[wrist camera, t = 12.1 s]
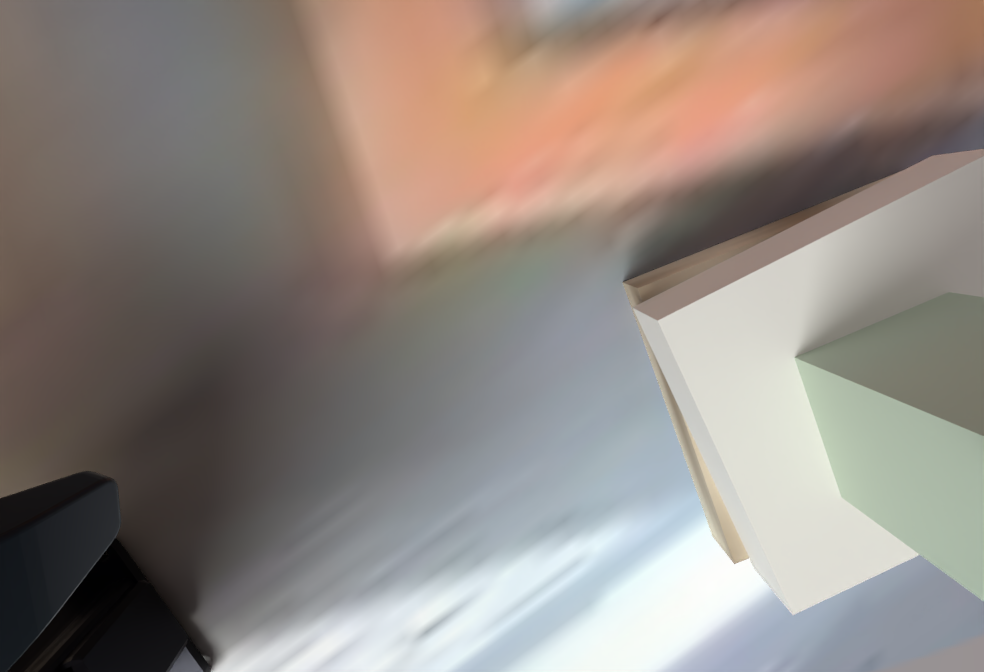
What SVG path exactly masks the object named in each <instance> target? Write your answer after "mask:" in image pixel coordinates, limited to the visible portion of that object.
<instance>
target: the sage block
mask: <svg viewBox="0 0 984 672" xmlns="http://www.w3.org/2000/svg"><path fill="white" fill-rule="evenodd" d="M794 358H795V361H796V364H797V367H798V370H799V373H800V376H801V379H802V382H803V385H804V388H805V391H806V394H807V397H808V400H809V403H810V406H811V409H812V411H813V414H814V417H815V420H816V423H817V426H818V429H819V432H820V435H821V438H822V441H823V444H824V447H825V450H826V453H827V456H828V459H829V462H830V465H831V468H832V471H833V474H834V477H835V480H836V482H837V485H838V488H839V491H840V494H841V497H842V498H843V499H844V500H846V501H847V502H849V503H850V504H851V505H853V506H854V507H855V508H857V509H858V510H859V511H861V512H862V513H864V514H865V515H866V516H868V517H869V518H870V519H872V520H873V521H874V522H876V523H877V524H879V525H880V526H881V527H883V528H884V529H885V530H887V531H888V532H890V533H891V534H892V535H894V536H895V537H896V538H898V539H899V540H900V541H902V542H903V543H905V544H906V545H907V546H909V547H910V548H911V549H913V550H914V551H915V552H917V553H918V554H920V555H921V556H922V557H924V558H925V559H926V560H928V561H929V562H931V563H932V564H933V565H935V566H936V567H937V568H939V569H940V570H941V571H943V572H944V573H946V574H947V575H948V576H950V577H951V578H952V579H954V580H955V581H956V582H958V583H959V584H961V585H962V586H963V587H965V588H966V589H967V590H969V591H970V592H972V593H973V594H974V595H976V596H977V597H978V598H980V599H981V600H982V601H984V297H979V296H972V295H965V294H958V293H952V292H948V293H945V294H943V295H941V296H938V297H936V298H934V299H931V300H929V301H927V302H924V303H922V304H919V305H917V306H915V307H912V308H910V309H908V310H905V311H903V312H901V313H898V314H896V315H893V316H891V317H889V318H886V319H884V320H882V321H879V322H877V323H875V324H872V325H870V326H867V327H865V328H863V329H860V330H858V331H856V332H853V333H851V334H849V335H846V336H844V337H841V338H839V339H837V340H834V341H832V342H830V343H827V344H825V345H823V346H820V347H818V348H815V349H813V350H811V351H808V352H806V353H804V354H801V355H799V356H797V357H794Z"/></svg>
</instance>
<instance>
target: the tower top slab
mask: <svg viewBox="0 0 984 672" xmlns="http://www.w3.org/2000/svg"><path fill="white" fill-rule="evenodd" d="M948 292H952V293H958V294H965V295H972V296H979V297H984V149H979V150H971V151H963V152H956V153H948V154H941V155H933V156H930V157H929V158H927V159H925V160H923V161H921V162H919V163H917V164H915V165H913V166H911V167H909V168H907V169H905V170H903V171H901V172H899V173H897V174H895V175H893V176H891V177H889V178H887V179H885V180H883V181H881V182H879V183H877V184H875V185H873V186H871V187H869V188H867V189H865V190H863V191H861V192H859V193H857V194H855V195H853V196H851V197H850V198H848V199H846V200H844V201H842V202H840V203H838V204H836V205H834V206H832V207H830V208H828V209H826V210H824V211H822V212H820V213H818V214H816V215H814V216H812V217H810V218H808V219H806V220H804V221H802V222H800V223H798V224H796V225H794V226H792V227H790V228H788V229H786V230H784V231H782V232H780V233H778V234H776V235H774V236H772V237H771V238H769V239H767V240H765V241H763V242H761V243H759V244H757V245H755V246H753V247H751V248H749V249H747V250H745V251H743V252H741V253H739V254H737V255H735V256H733V257H731V258H729V259H727V260H725V261H723V262H721V263H719V264H717V265H715V266H713V267H711V268H709V269H707V270H705V271H703V272H701V273H699V274H697V275H695V276H694V277H692V278H690V279H688V280H686V281H684V282H682V283H680V284H678V285H676V286H674V287H672V288H670V289H668V290H666V291H664V292H662V293H660V294H658V295H656V296H654V297H652V298H650V299H648V300H646V301H644V302H642V303H640V304H638V305H636V306H634V307H632V308H633V310H634V312H635V314H636V316H637V319H638V321H639V323H640V325H641V327H642V329H643V331H644V334H645V336H646V338H647V340H648V342H649V344H650V346H651V349H652V351H653V353H654V355H655V357H656V359H657V361H658V364H659V366H660V368H661V370H662V372H663V374H664V376H665V379H666V381H667V383H668V385H669V387H670V389H671V391H672V394H673V396H674V398H675V400H676V402H677V404H678V406H679V409H680V411H681V413H682V415H683V417H684V419H685V421H686V423H687V426H688V428H689V430H690V432H691V434H692V436H693V438H694V441H695V443H696V445H697V447H698V449H699V451H700V453H701V456H702V458H703V460H704V462H705V464H706V466H707V468H708V471H709V473H710V475H711V477H712V479H713V481H714V483H715V486H716V488H717V490H718V492H719V494H720V496H721V498H722V501H723V503H724V505H725V507H726V509H727V511H728V513H729V516H730V518H731V520H732V522H733V524H734V526H735V528H736V531H737V533H738V535H739V537H740V539H741V541H742V543H743V546H744V548H745V550H746V552H747V554H748V556H749V558H750V561H751V563H752V565H753V567H754V569H755V570H756V571H757V573H758V574H759V575H760V576H761V577H762V579H763V580H764V581H765V582H766V583H767V585H768V586H769V587H770V588H771V589H772V591H773V592H774V593H775V594H776V595H777V597H778V598H779V599H780V600H781V601H782V603H783V604H784V605H785V606H786V607H787V609H788V610H789V611H790V612H791V613H792V615H795V614H797V613H799V612H801V611H803V610H805V609H807V608H809V607H811V606H813V605H815V604H818V603H820V602H822V601H824V600H826V599H828V598H830V597H832V596H834V595H836V594H839V593H841V592H843V591H845V590H847V589H849V588H851V587H853V586H855V585H857V584H859V583H862V582H864V581H866V580H868V579H870V578H872V577H874V576H876V575H878V574H880V573H883V572H885V571H887V570H889V569H891V568H893V567H895V566H897V565H899V564H901V563H903V562H906V561H908V560H910V559H912V558H914V557H916V556H918V555H920V554H918V553H917V552H915V551H914V550H913V549H911V548H910V547H909V546H907V545H906V544H905V543H903V542H902V541H900V540H899V539H898V538H896V537H895V536H894V535H892V534H891V533H890V532H888V531H887V530H885V529H884V528H883V527H881V526H880V525H879V524H877V523H876V522H874V521H873V520H872V519H870V518H869V517H868V516H866V515H865V514H864V513H862V512H861V511H859V510H858V509H857V508H855V507H854V506H853V505H851V504H850V503H849V502H847V501H846V500H844V499H843V498H842V497H841V494H840V491H839V488H838V485H837V482H836V480H835V477H834V474H833V471H832V468H831V465H830V462H829V459H828V456H827V453H826V450H825V447H824V444H823V441H822V438H821V435H820V432H819V429H818V426H817V423H816V420H815V417H814V414H813V411H812V409H811V406H810V403H809V400H808V397H807V394H806V391H805V388H804V385H803V382H802V379H801V376H800V373H799V370H798V367H797V364H796V361H795V358H794V357H797V356H799V355H801V354H804V353H806V352H808V351H811V350H813V349H815V348H818V347H820V346H823V345H825V344H827V343H830V342H832V341H834V340H837V339H839V338H841V337H844V336H846V335H849V334H851V333H853V332H856V331H858V330H860V329H863V328H865V327H867V326H870V325H872V324H875V323H877V322H879V321H882V320H884V319H886V318H889V317H891V316H893V315H896V314H898V313H901V312H903V311H905V310H908V309H910V308H912V307H915V306H917V305H919V304H922V303H924V302H927V301H929V300H931V299H934V298H936V297H938V296H941V295H943V294H945V293H948Z"/></svg>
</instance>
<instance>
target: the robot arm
mask: <svg viewBox="0 0 984 672" xmlns="http://www.w3.org/2000/svg"><path fill="white" fill-rule="evenodd" d="M120 525H121V515H120V505H119V495H118V486H117V483H116V482H115V480H114V479H112V478H110V477H107V476H104V475H101V474H98V473H95V472H91V471H84V472H80V473H76V474H73V475H70V476H67V477H64V478H61V479H58V480H55V481H52V482H49V483H46V484H43V485H40V486H37V487H34V488H30V489H27V490H24V491H21V492H18V493H15V494H12V495H9V496H6V497H3V498H0V672H211V669H210V666H209V664H208V663H207V662H206V660H205V659H204V658H203V656H202V655H201V653H200V652H199V651H198V649H197V648H196V647H195V645H194V644H193V642H192V641H191V640H190V638H189V637H188V635H187V633H186V632H185V631H184V629H183V628H182V627H181V625H180V624H179V622H178V621H177V620H176V618H175V617H174V616H173V614H172V613H171V611H170V610H169V609H168V607H167V606H166V604H165V603H164V602H163V600H162V599H161V598H160V596H159V595H158V593H157V592H156V591H155V589H154V588H153V586H152V585H151V584H150V583H149V582H148V580H147V579H146V577H145V576H144V575H143V573H142V572H141V570H140V569H139V568H138V566H137V565H136V564H135V562H134V561H133V559H132V558H131V557H130V555H129V554H128V552H127V551H126V550H125V548H124V547H123V546H122V544H121V543H120V542H119V541H118V540H117V539H116V538H115V537H116V536H117V534H118V531H119V529H120ZM105 551H108V554H109V556H107V555H104V554H103V553H104V552H105Z"/></svg>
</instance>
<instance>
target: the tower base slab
mask: <svg viewBox="0 0 984 672" xmlns="http://www.w3.org/2000/svg"><path fill="white" fill-rule="evenodd" d="M902 171H903V170H902ZM900 172H901V171H900ZM897 173H899V172H897ZM897 173H895V174H897ZM895 174H892V175H890V176H887V177H885V178H882V179H880V180H877V181H875V182H872V183H870V184H867V185H865V186H862V187H860V188H857V189H855V190H852V191H850V192H847V193H845V194H842V195H840V196H837V197H835V198H832V199H830V200H827V201H825V202H822V203H820V204H817V205H815V206H812V207H810V208H807V209H805V210H802V211H800V212H797V213H795V214H792V215H790V216H787V217H785V218H782V219H780V220H777V221H775V222H772V223H770V224H767V225H765V226H762V227H760V228H757V229H755V230H752V231H750V232H747V233H745V234H742V235H740V236H737V237H735V238H732V239H730V240H727V241H725V242H722V243H720V244H717V245H715V246H712V247H710V248H707V249H705V250H702V251H700V252H697V253H695V254H692V255H690V256H687V257H685V258H682V259H680V260H677V261H675V262H672V263H670V264H667V265H665V266H662V267H660V268H657V269H655V270H652V271H650V272H647V273H645V274H642V275H640V276H637V277H635V278H632V279H630V280H627V281H625V282H623V285H624V288H625V291H626V293H627V296H628V299H629V302H630V305H631V307H634V306H636V305H638V304H640V303H642V302H644V301H646V300H648V299H650V298H652V297H654V296H656V295H658V294H660V293H662V292H664V291H666V290H668V289H670V288H672V287H674V286H676V285H678V284H680V283H682V282H684V281H686V280H688V279H690V278H692V277H694V276H695V275H697V274H699V273H701V272H703V271H705V270H707V269H709V268H711V267H713V266H715V265H717V264H719V263H721V262H723V261H725V260H727V259H729V258H731V257H733V256H735V255H737V254H739V253H741V252H743V251H745V250H747V249H749V248H751V247H753V246H755V245H757V244H759V243H761V242H763V241H765V240H767V239H769V238H771V237H772V236H774V235H776V234H778V233H780V232H782V231H784V230H786V229H788V228H790V227H792V226H794V225H796V224H798V223H800V222H802V221H804V220H806V219H808V218H810V217H812V216H814V215H816V214H818V213H820V212H822V211H824V210H826V209H828V208H830V207H832V206H834V205H836V204H838V203H840V202H842V201H844V200H846V199H848V198H850V197H851V196H853V195H855V194H857V193H859V192H861V191H863V190H865V189H867V188H869V187H871V186H873V185H875V184H877V183H879V182H881V181H883V180H885V179H887V178H889V177H891V176H893V175H895ZM632 310H633V308H632ZM633 313H634V316H635V319H636V322H637V324H638V327H639V330H640V333H641V336H642V338H643V341H644V344H645V347H646V350H647V353H648V355H649V358H650V361H651V364H652V367H653V369H654V372H655V375H656V378H657V381H658V384H659V386H660V389H661V392H662V395H663V398H664V400H665V403H666V406H667V409H668V412H669V415H670V417H671V420H672V423H673V426H674V429H675V431H676V434H677V437H678V440H679V443H680V446H681V448H682V451H683V454H684V457H685V460H686V462H687V465H688V468H689V471H690V474H691V477H692V479H693V482H694V485H695V488H696V491H697V494H698V496H699V499H700V502H701V505H702V508H703V510H704V513H705V516H706V519H707V522H708V525H709V527H710V530H711V533H712V536H713V537H714V539H715V540H716V541H717V542H718V544H719V545H720V546H721V548H722V549H723V550H724V551H725V553H726V554H727V555H728V556H729V558H730V559H731V560H732V561H733V563H734V564H735V563H738V562H741V561H743V560H746V559H748V558H749V556H748V554H747V552H746V550H745V548H744V546H743V543H742V541H741V539H740V537H739V535H738V533H737V531H736V528H735V526H734V524H733V522H732V520H731V518H730V516H729V513H728V511H727V509H726V507H725V505H724V503H723V501H722V498H721V496H720V494H719V492H718V490H717V488H716V486H715V483H714V481H713V479H712V477H711V475H710V473H709V471H708V468H707V466H706V464H705V462H704V460H703V458H702V456H701V453H700V451H699V449H698V447H697V445H696V443H695V441H694V438H693V436H692V434H691V432H690V430H689V428H688V426H687V423H686V421H685V419H684V417H683V415H682V413H681V411H680V409H679V406H678V404H677V402H676V400H675V398H674V396H673V394H672V391H671V389H670V387H669V385H668V383H667V381H666V379H665V376H664V374H663V372H662V370H661V368H660V366H659V364H658V361H657V359H656V357H655V355H654V353H653V351H652V349H651V346H650V344H649V342H648V340H647V338H646V336H645V334H644V331H643V329H642V327H641V325H640V323H639V321H638V319H637V316H636V314H635V312H634V310H633Z"/></svg>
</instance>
